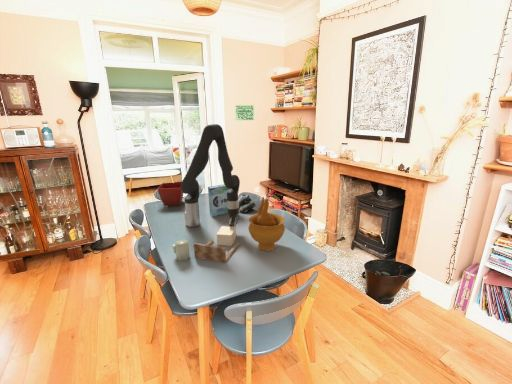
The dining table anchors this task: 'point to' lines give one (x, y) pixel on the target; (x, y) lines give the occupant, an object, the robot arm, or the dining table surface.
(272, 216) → the mortar and pestle
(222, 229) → the cream carton
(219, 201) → the gum box
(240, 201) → the dark grey rounded lump
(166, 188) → the plant pot
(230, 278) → the dining table surface
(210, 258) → the display bay
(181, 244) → the sage mug
